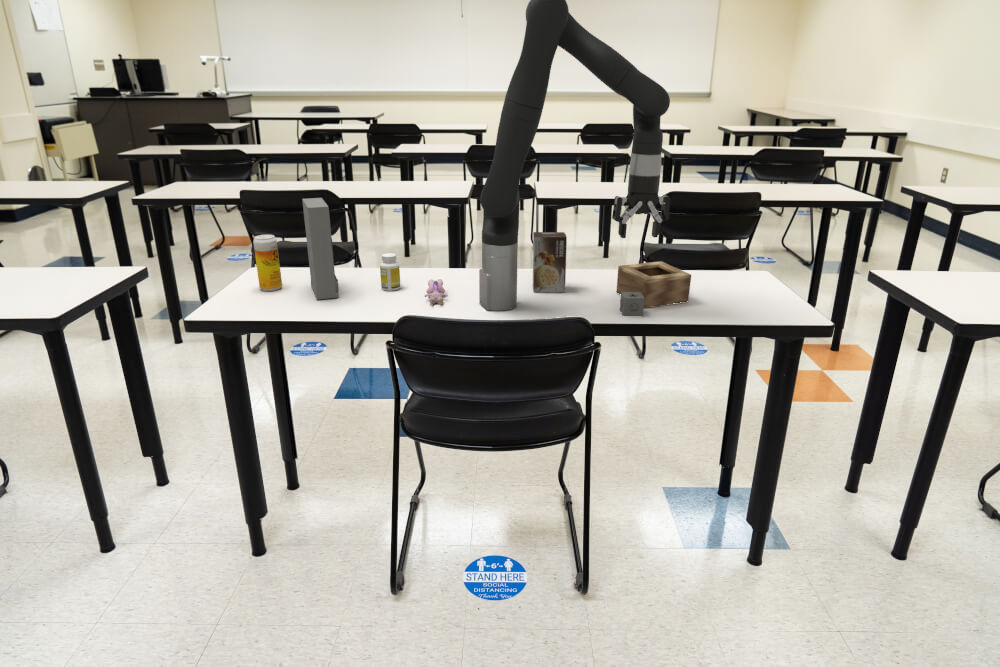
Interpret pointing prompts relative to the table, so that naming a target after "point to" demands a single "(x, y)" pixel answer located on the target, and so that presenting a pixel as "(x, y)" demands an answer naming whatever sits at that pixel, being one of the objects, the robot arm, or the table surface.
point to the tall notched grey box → (320, 248)
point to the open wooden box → (655, 282)
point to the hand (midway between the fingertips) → (638, 237)
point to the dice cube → (632, 303)
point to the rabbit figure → (435, 291)
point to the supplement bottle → (390, 272)
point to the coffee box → (549, 261)
